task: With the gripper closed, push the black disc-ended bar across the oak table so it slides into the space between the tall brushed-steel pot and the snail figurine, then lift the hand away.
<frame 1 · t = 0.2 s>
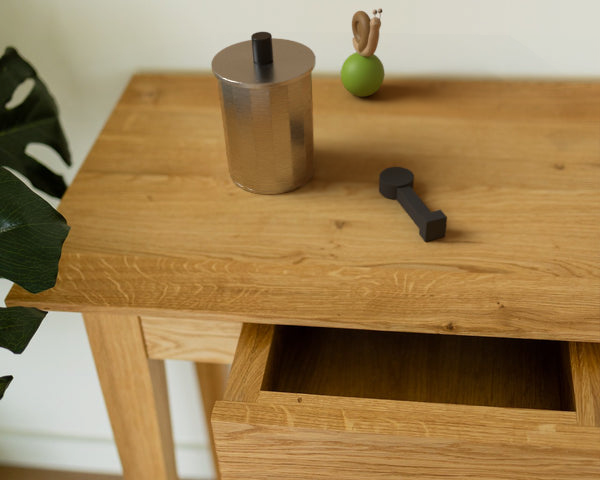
snail figurine: (364, 97, 96), on the table
pot: (272, 170, 84), on the table
pot lid: (263, 64, 76), point 12 cm above the table, touching pot
black disc-ended bar: (435, 239, 74), on the table
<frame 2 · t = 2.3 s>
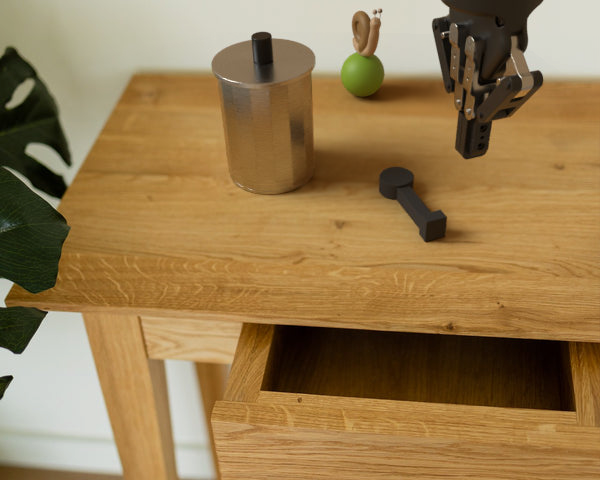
hand: (470, 153, 63), 12 cm above the table, tool pointing down, fingers closed
nothing on the table moved.
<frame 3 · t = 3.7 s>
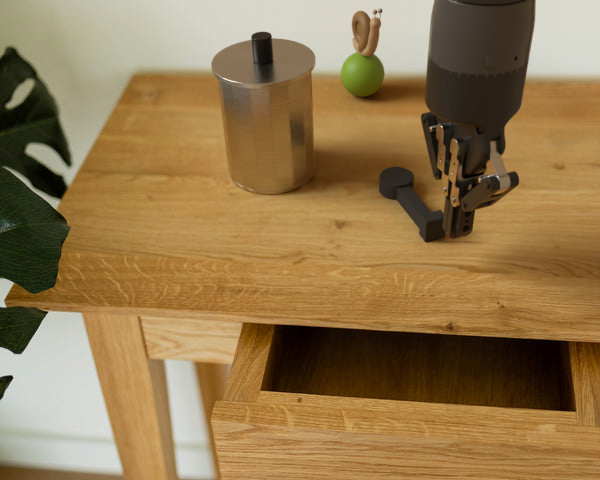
hand: (456, 232, 69), 4 cm above the table, tool pointing down, fingers closed
nothing on the table moved.
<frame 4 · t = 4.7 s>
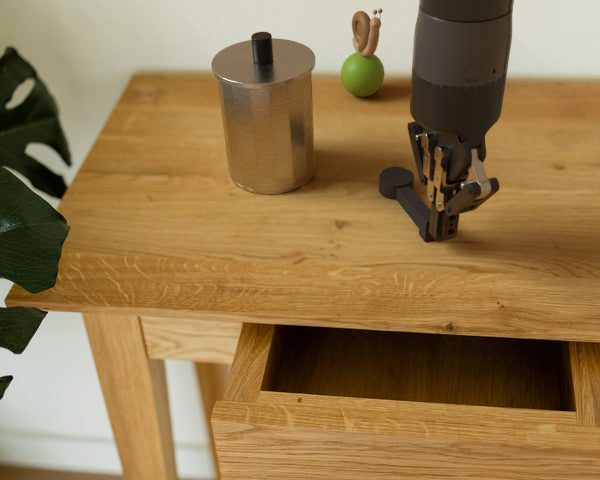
hand: (442, 235, 72), 1 cm above the table, tool pointing down, fingers closed
black disc-ended bar: (434, 239, 74), on the table, touching gripper
everything else where it was.
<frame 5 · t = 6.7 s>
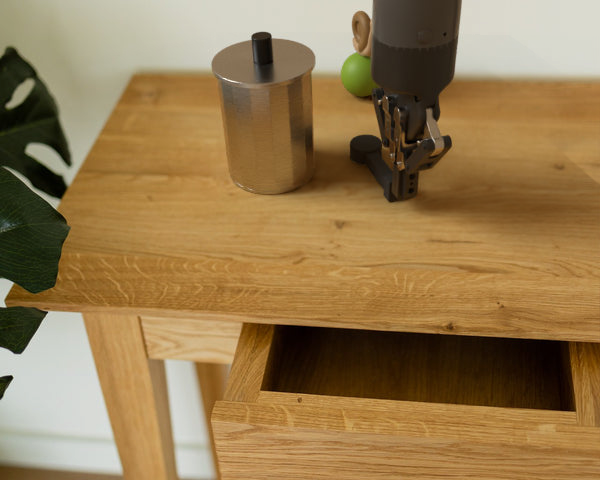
hand: (404, 195, 77), 1 cm above the table, tool pointing down, fingers closed
black disc-ended bar: (398, 200, 79), on the table, touching gripper
everything else where it was.
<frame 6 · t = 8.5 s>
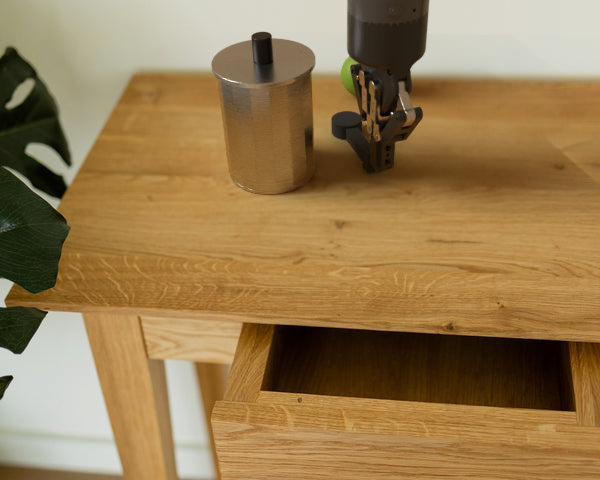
hand: (381, 166, 81), 1 cm above the table, tool pointing down, fingers closed
black disc-ended bar: (376, 172, 83), on the table, touching gripper
everything else where it was.
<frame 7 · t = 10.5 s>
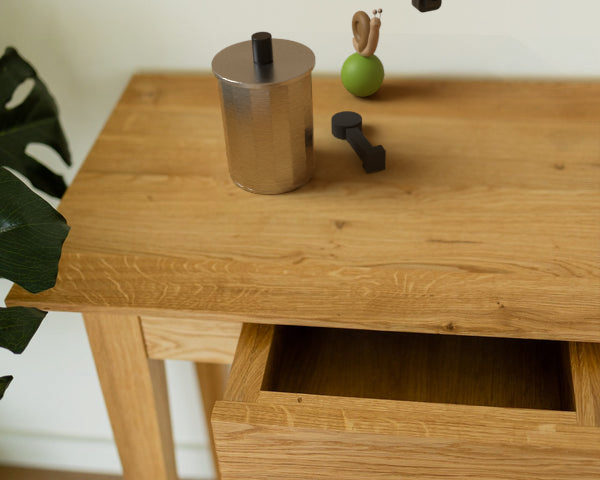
hand: (426, 8, 67), 20 cm above the table, tool pointing down, fingers closed
black disc-ended bar: (376, 171, 83), on the table
everything else where it was.
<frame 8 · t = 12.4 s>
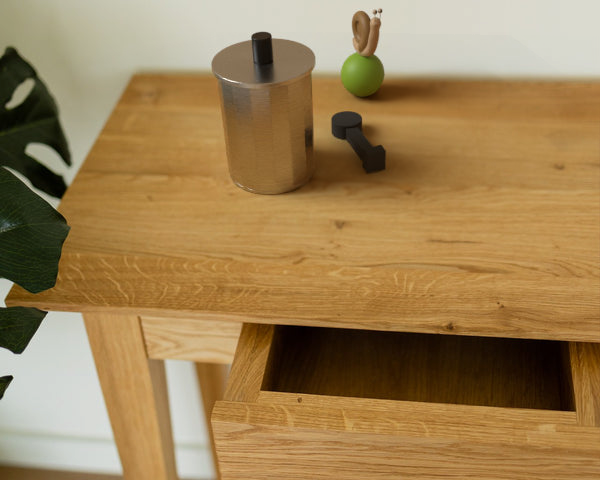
nothing on the table moved.
at the end: black disc-ended bar inside the target area (2.3 cm from its centre), on the table; pot moved 0.0 cm from its start; snail figurine moved 0.2 cm from its start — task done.
